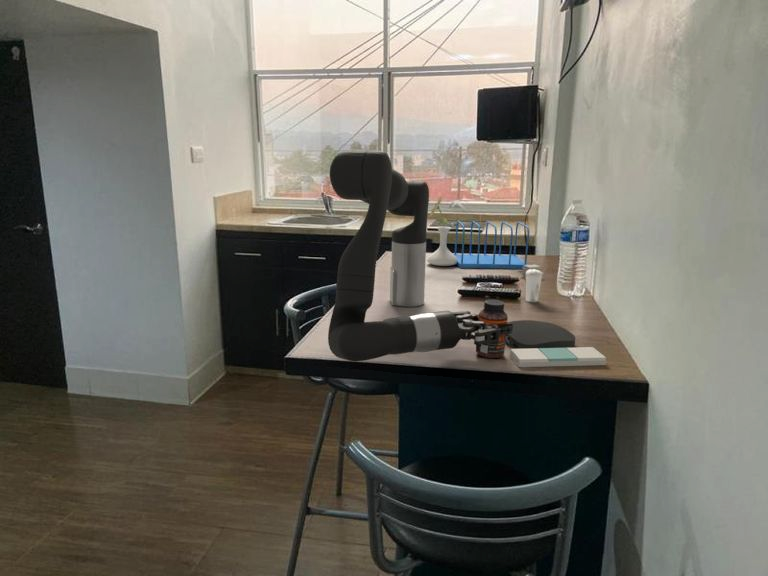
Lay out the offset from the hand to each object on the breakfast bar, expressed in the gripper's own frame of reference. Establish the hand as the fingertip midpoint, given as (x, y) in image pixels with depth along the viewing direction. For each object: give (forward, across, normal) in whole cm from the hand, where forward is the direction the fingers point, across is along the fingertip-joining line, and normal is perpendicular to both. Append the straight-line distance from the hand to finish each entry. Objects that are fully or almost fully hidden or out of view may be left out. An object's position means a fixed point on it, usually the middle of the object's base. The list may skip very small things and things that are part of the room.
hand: (501, 322), depth 113 cm
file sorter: (+48, +79, +8) cm, 93 cm away
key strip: (+9, -7, +7) cm, 13 cm away
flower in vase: (+30, +82, +8) cm, 87 cm away
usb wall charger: (+48, +56, +7) cm, 74 cm away
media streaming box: (+12, +4, +7) cm, 15 cm away
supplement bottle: (-2, 0, +7) cm, 7 cm away
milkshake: (+32, +31, +7) cm, 45 cm away
